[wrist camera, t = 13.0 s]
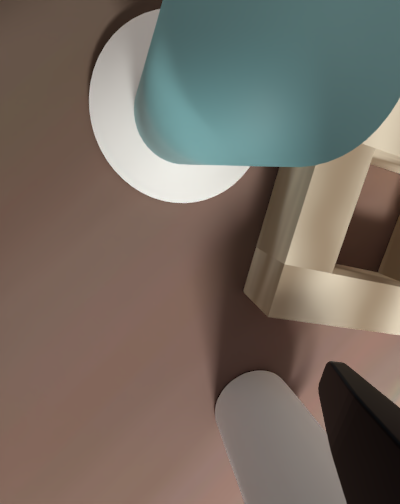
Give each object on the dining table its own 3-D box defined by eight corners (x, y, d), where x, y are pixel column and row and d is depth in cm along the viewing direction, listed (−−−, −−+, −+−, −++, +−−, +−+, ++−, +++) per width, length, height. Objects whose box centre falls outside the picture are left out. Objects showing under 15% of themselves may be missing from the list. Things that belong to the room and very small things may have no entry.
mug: (193, 410, 24) (258, 621, 13) (258, 349, 24) (379, 508, 13) (267, 470, 28) (368, 676, 17) (324, 417, 28) (463, 588, 17)
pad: (75, 179, 18) (74, 180, 17) (109, -18, 16) (108, -27, 15) (236, 216, 21) (240, 218, 20) (280, 53, 19) (287, 48, 18)
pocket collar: (242, 291, 23) (267, 317, 19) (304, 82, 20) (347, 63, 16) (394, 315, 27) (439, 340, 23) (462, 145, 24) (526, 141, 20)
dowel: (144, 171, 18) (195, 187, 7) (124, 65, 17) (141, -167, 5) (234, 156, 19) (415, 147, 8) (222, 55, 18) (431, -156, 6)
